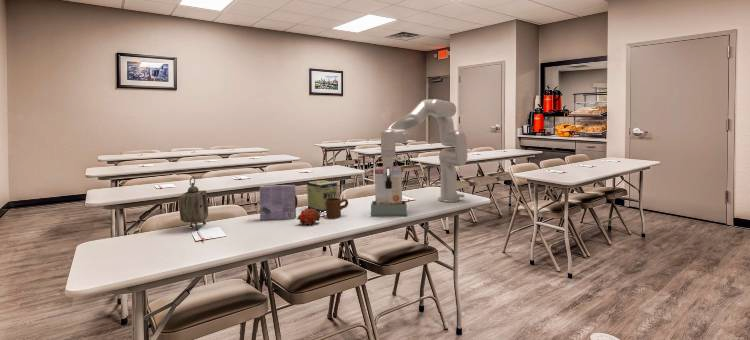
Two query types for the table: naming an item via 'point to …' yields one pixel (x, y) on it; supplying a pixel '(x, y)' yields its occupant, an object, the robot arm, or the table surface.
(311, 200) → the protein box
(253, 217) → the table surface
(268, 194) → the cake pan box
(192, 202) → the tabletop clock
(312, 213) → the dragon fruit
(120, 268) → the table surface
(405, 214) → the tray
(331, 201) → the mug
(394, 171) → the cracker box
